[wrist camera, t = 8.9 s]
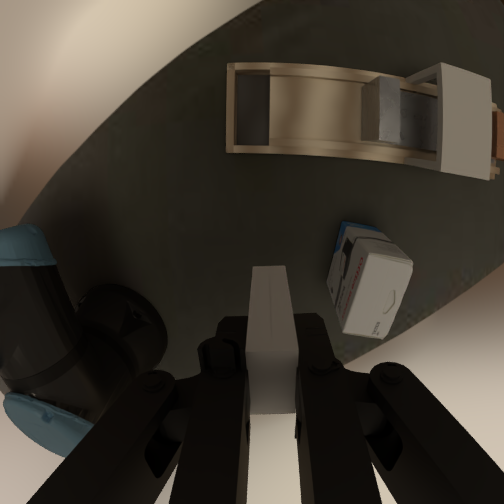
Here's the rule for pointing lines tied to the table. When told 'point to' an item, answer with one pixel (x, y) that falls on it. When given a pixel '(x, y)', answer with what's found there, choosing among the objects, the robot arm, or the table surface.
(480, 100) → the tunnel
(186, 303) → the table surface
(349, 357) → the table surface
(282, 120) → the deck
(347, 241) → the ink box
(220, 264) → the table surface
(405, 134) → the sled
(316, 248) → the table surface
